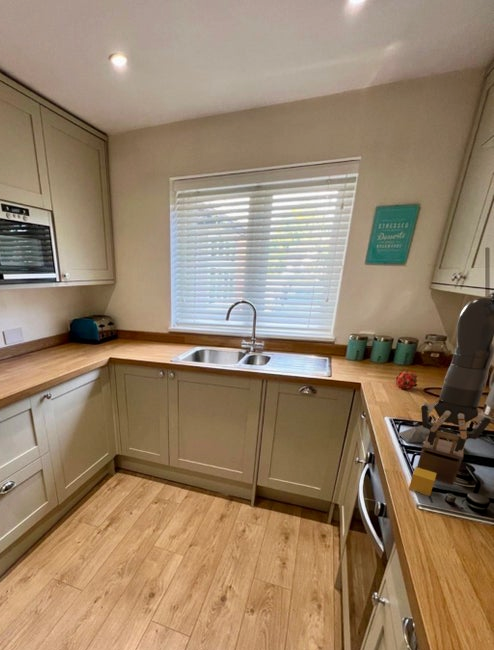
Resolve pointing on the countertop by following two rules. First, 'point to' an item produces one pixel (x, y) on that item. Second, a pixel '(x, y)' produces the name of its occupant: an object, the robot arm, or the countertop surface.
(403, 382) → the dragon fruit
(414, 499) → the countertop surface
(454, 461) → the chest
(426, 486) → the block
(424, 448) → the lid
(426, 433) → the paper boat
